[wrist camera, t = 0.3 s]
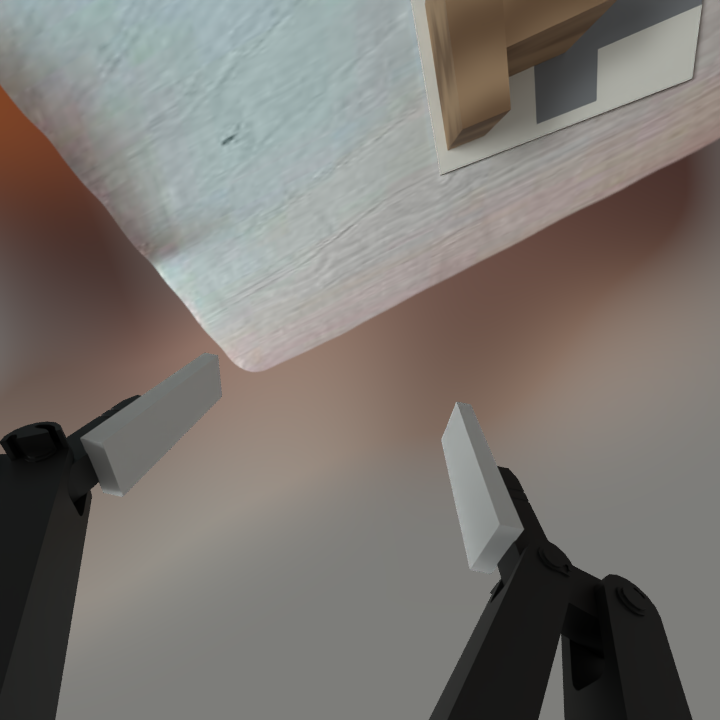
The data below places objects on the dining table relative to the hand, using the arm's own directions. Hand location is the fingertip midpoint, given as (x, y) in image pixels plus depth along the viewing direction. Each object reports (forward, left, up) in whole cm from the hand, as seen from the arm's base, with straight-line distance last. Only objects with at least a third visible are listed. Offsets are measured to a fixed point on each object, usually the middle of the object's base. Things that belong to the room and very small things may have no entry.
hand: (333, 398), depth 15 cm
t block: (-24, +12, -27) cm, 38 cm away
